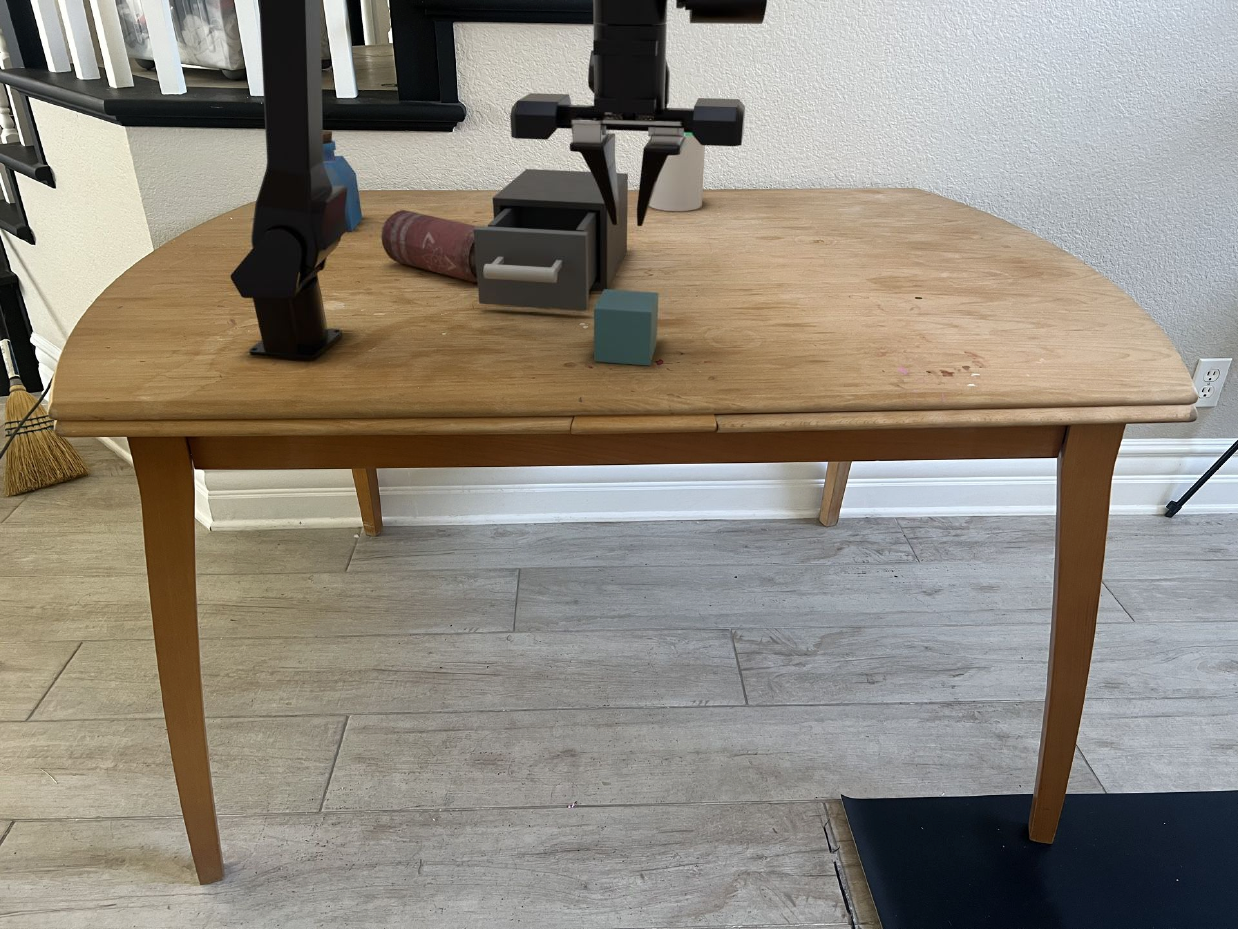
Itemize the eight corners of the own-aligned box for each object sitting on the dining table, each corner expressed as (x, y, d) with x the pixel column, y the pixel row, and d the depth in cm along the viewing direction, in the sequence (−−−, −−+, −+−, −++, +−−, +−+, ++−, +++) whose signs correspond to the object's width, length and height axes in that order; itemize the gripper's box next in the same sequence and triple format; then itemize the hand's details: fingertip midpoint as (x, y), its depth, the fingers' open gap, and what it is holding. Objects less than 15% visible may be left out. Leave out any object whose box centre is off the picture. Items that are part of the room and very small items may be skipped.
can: (408, 269, 105) (493, 292, 99) (372, 248, 100) (459, 271, 93) (425, 223, 105) (512, 243, 99) (390, 200, 100) (479, 219, 93)
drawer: (577, 327, 84) (576, 248, 80) (465, 319, 85) (458, 241, 81) (608, 269, 99) (609, 201, 95) (513, 263, 100) (509, 196, 96)
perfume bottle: (362, 218, 120) (349, 128, 114) (352, 231, 115) (337, 136, 108) (317, 218, 120) (302, 128, 114) (305, 231, 114) (288, 136, 108)
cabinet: (607, 290, 95) (607, 203, 90) (497, 283, 97) (492, 197, 92) (626, 251, 108) (628, 173, 103) (529, 246, 109) (526, 168, 104)
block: (649, 366, 78) (651, 312, 75) (593, 361, 79) (593, 308, 76) (656, 344, 82) (658, 292, 80) (603, 340, 83) (603, 288, 80)
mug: (635, 193, 134) (636, 122, 129) (684, 190, 136) (687, 120, 131) (656, 212, 124) (658, 137, 119) (709, 209, 126) (713, 134, 121)
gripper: (753, 18, 72) (739, 206, 80) (537, 15, 75) (544, 197, 83) (749, 28, 63) (734, 240, 71) (503, 24, 65) (514, 229, 73)
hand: (628, 224), depth 74 cm, fingers closed
